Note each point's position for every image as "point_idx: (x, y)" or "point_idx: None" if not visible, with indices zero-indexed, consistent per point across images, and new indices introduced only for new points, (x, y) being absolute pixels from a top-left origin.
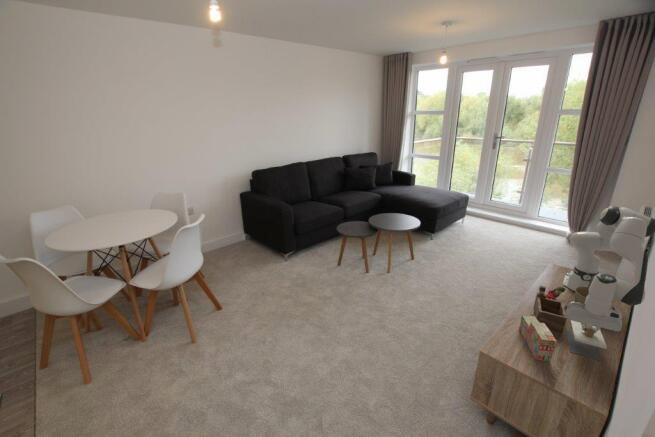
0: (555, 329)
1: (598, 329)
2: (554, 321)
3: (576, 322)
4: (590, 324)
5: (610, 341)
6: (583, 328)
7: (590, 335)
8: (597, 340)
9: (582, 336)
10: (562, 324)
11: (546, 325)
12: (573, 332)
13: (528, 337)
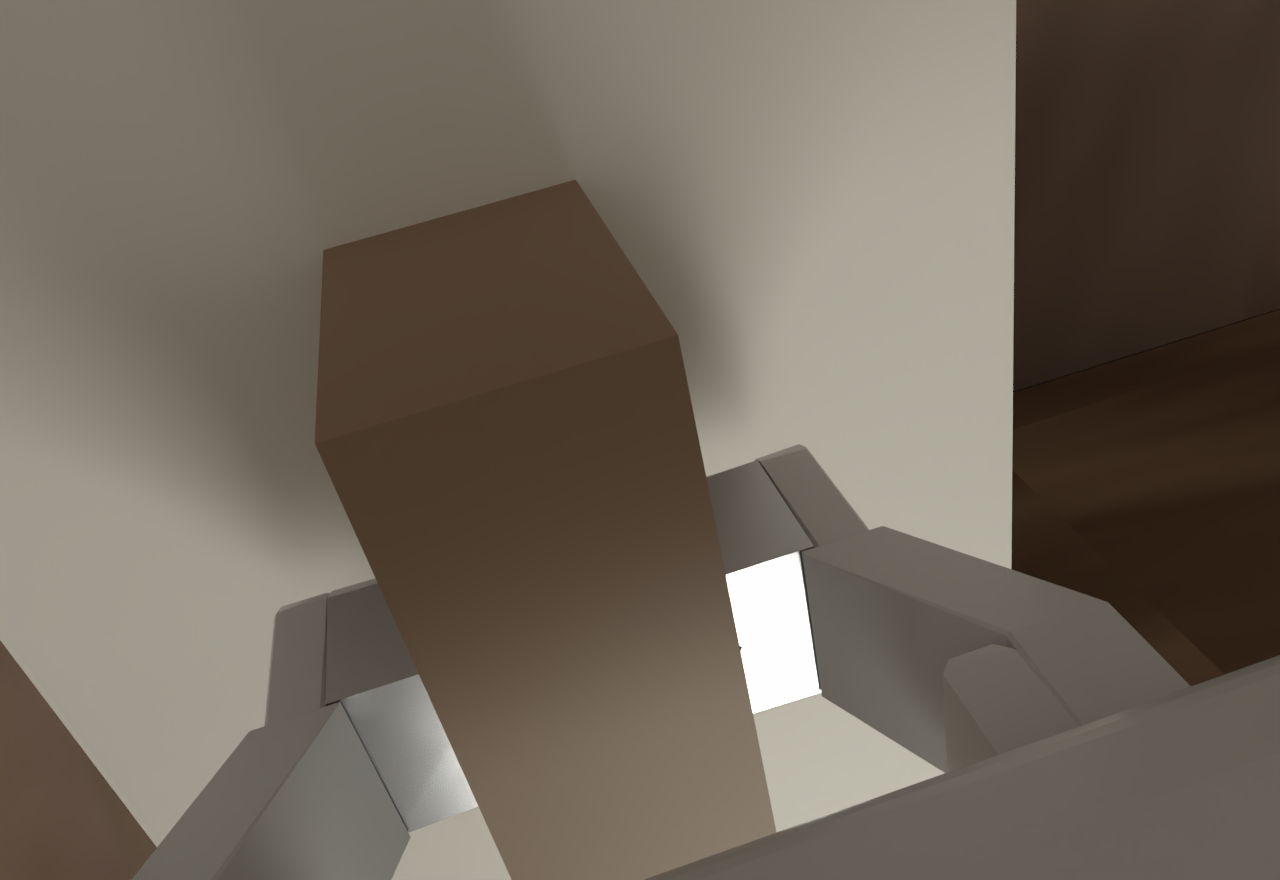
0: (1056, 401)
1: (196, 844)
2: (1277, 502)
3: (871, 795)
4: (735, 852)
5: (59, 845)
6: (800, 506)
7: (435, 265)
8: (89, 223)
9: (705, 48)
10: (1078, 545)
11: (1259, 367)
12: (992, 164)
13: None
